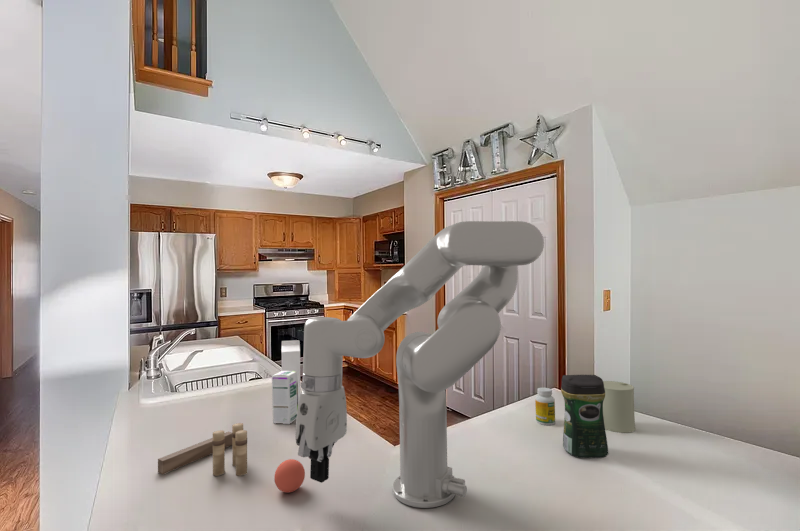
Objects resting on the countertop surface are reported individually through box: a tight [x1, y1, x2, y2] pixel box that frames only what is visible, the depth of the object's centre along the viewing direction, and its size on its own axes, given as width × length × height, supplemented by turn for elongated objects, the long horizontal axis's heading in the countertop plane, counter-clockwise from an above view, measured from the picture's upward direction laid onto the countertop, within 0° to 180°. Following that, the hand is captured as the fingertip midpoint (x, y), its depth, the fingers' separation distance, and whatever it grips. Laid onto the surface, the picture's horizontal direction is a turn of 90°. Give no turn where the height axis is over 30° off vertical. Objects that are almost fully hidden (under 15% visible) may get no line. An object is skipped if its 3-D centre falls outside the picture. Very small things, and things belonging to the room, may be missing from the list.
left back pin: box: [212, 429, 226, 477], centre depth 89 cm, size 2×2×9 cm
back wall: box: [157, 431, 232, 475], centre depth 97 cm, size 2×18×3 cm, turn 150°
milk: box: [281, 339, 301, 404], centre depth 135 cm, size 6×6×22 cm
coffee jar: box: [560, 374, 609, 459], centre depth 96 cm, size 10×8×19 cm
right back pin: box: [231, 422, 244, 467], centre depth 93 cm, size 2×2×9 cm
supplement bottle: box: [534, 387, 556, 426], centre depth 116 cm, size 5×5×10 cm
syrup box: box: [271, 370, 298, 425], centre depth 121 cm, size 6×6×14 cm
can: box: [603, 380, 637, 434], centre depth 112 cm, size 9×9×12 cm
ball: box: [273, 458, 306, 493], centre depth 81 cm, size 6×6×6 cm
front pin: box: [235, 429, 248, 477], centre depth 89 cm, size 2×2×9 cm
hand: (319, 478), depth 76 cm, fingers closed
